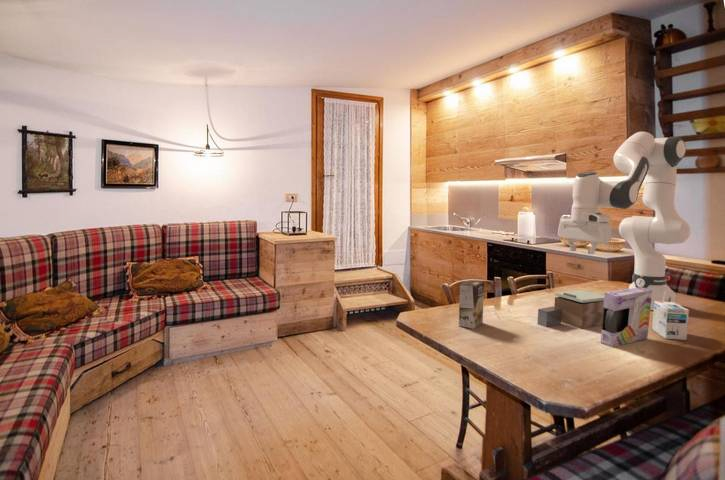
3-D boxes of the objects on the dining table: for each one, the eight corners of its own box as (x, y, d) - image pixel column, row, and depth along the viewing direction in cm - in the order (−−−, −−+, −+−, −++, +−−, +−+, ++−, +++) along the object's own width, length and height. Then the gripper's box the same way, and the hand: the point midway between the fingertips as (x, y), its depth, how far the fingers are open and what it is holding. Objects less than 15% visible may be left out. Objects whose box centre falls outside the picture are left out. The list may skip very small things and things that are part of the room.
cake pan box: (610, 348, 139) (614, 295, 137) (596, 343, 144) (600, 291, 142) (649, 339, 147) (653, 289, 145) (635, 335, 152) (639, 286, 149)
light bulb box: (687, 340, 146) (690, 309, 145) (665, 339, 148) (667, 308, 146) (671, 330, 157) (674, 301, 155) (650, 329, 158) (653, 300, 157)
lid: (582, 292, 175) (582, 288, 175) (610, 299, 164) (611, 294, 164) (555, 295, 168) (555, 290, 168) (582, 302, 157) (583, 297, 157)
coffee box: (474, 329, 158) (476, 286, 156) (458, 326, 161) (459, 284, 159) (483, 322, 165) (484, 281, 163) (467, 319, 169) (468, 279, 167)
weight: (552, 321, 167) (553, 306, 167) (561, 324, 164) (561, 308, 163) (537, 324, 164) (538, 309, 163) (546, 327, 160) (547, 311, 160)
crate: (580, 314, 176) (582, 292, 175) (608, 322, 166) (610, 299, 164) (553, 319, 169) (554, 297, 168) (581, 328, 158) (582, 304, 157)
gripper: (554, 214, 169) (553, 249, 171) (604, 218, 151) (601, 256, 153) (566, 214, 172) (564, 248, 174) (615, 217, 154) (612, 255, 156)
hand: (581, 252), depth 163 cm, fingers open, 6 cm apart
